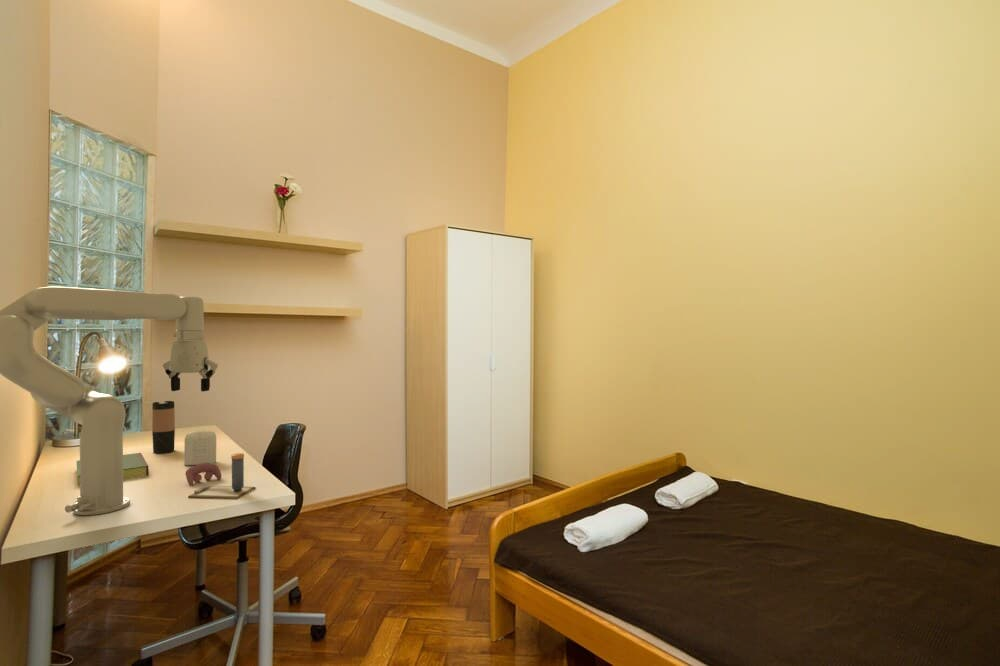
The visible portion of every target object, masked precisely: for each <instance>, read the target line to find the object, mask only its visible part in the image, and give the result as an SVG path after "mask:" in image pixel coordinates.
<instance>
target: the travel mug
mask: <svg viewBox="0 0 1000 666" xmlns="http://www.w3.org/2000/svg"><path fill="white" fill-rule="evenodd" d="M151 405H152V406H151V407H152V409H151V410H152V411H151V412H152V413H151V414H152V416H151V418H152V420H151V422H152V423H151V424H152V425H151V429H152V431H151V435H152V452H153V454H158V455H161V454H169V453H172V452H175V440H176V439H175V437H176V435H175V434H176V433H175V432H176V430H175V429H176V428H175V425H176V424H175V423H176V422H175V419H176V418H175V413H176V412H175V401H173V400H166V401H164V402H163V401H162V402H159V401H153V402H152V404H151Z"/></svg>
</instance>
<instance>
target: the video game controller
mask: <svg viewBox="0 0 1000 666" xmlns="http://www.w3.org/2000/svg"><path fill="white" fill-rule="evenodd" d="M201 473H205V474H204V476H203V477H202V475H201ZM213 475H214V476H215V478H216V479H217V480H218V479H219V480H218V481H221V480H222V472H221V469H220V468H219V466H218V465H217V464H216V463H200V464H196V465H190V466H189V468H187V469H186V470H185V477H186V481H187V484H188V485H189V486H191V485H192V486H193V485H194V482H195V483H200V482H201V480H202V478H204V480H205V481H210V480H212V477H213ZM220 479H221V480H220Z"/></svg>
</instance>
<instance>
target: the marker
mask: <svg viewBox="0 0 1000 666" xmlns="http://www.w3.org/2000/svg"><path fill="white" fill-rule="evenodd" d="M230 459H231V486H232V489H234V492H240V491H242V488H243V487H245V486H244V484H245V483H244V481H245V480H244V478H245V476H244V475H245V474H244V470H245V469H244V468H245V465H244V464H245V463H244V459H245V454H244V453H239V452H238V453H233V454H231V458H230Z"/></svg>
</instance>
